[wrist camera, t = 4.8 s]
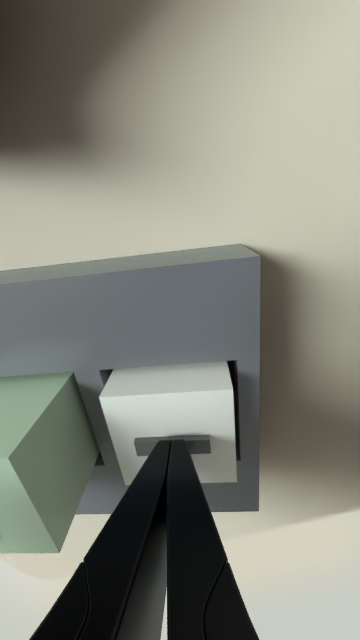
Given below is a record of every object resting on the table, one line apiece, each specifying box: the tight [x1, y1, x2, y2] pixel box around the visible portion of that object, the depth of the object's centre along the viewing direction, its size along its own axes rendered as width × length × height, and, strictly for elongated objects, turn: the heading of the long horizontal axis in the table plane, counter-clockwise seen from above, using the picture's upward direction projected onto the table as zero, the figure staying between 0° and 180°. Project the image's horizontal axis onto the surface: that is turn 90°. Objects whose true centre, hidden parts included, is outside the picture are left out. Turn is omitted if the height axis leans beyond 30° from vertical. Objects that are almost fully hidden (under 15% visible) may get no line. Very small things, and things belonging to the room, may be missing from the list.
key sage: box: [0, 372, 100, 553], centre depth 8 cm, size 4×4×4 cm
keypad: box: [0, 244, 261, 514], centre depth 11 cm, size 17×11×3 cm, turn 97°
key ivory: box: [99, 361, 237, 485], centre depth 10 cm, size 4×4×4 cm
